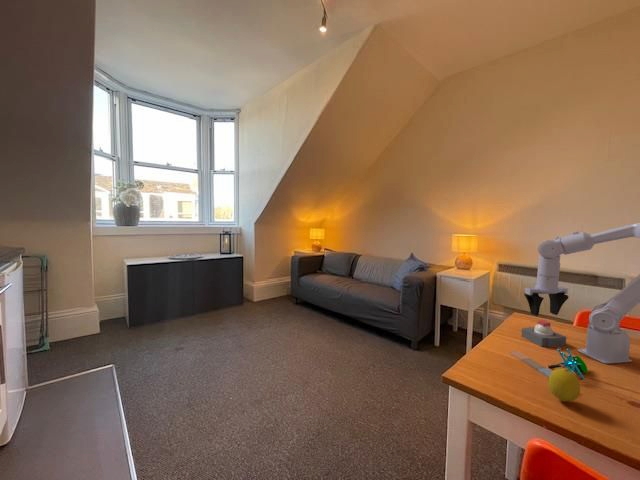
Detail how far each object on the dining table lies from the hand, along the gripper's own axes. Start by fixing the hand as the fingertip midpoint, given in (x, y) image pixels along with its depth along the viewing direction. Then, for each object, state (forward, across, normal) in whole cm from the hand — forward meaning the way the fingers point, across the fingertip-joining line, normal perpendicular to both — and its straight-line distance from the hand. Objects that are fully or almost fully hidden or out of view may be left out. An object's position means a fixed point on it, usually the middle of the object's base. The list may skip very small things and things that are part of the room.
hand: (544, 314), depth 96 cm
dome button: (+8, 0, 0) cm, 8 cm away
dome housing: (+9, 0, 0) cm, 9 cm away
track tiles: (+9, +17, +14) cm, 24 cm away
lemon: (+10, +24, +29) cm, 39 cm away
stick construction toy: (+10, +10, +18) cm, 23 cm away
